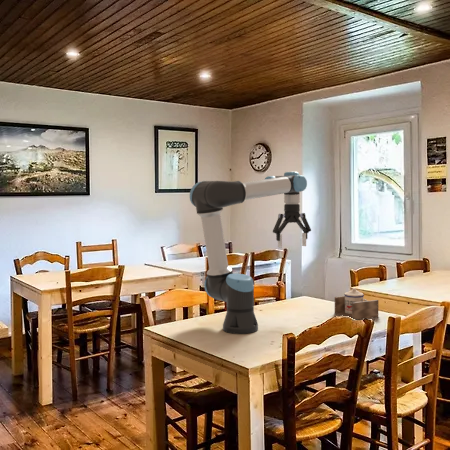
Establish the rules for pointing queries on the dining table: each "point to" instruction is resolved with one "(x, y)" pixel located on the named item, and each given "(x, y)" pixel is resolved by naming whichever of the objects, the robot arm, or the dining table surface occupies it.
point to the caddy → (357, 308)
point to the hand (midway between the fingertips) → (292, 246)
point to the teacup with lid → (352, 299)
